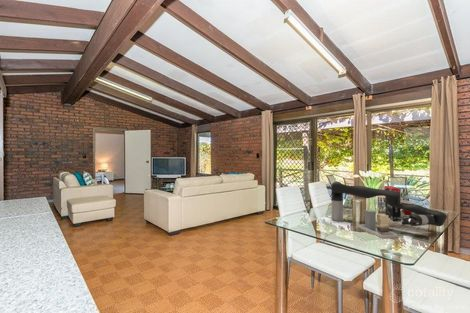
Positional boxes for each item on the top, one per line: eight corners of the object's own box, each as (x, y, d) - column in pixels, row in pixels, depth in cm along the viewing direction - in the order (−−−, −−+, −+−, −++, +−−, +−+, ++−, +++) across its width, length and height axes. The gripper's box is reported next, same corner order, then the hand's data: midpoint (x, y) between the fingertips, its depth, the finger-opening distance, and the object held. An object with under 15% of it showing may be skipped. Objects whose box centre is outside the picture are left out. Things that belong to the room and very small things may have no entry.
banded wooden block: (388, 235, 172) (388, 215, 171) (382, 236, 171) (381, 216, 171) (383, 233, 177) (383, 213, 176) (377, 234, 176) (376, 214, 176)
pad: (381, 241, 165) (381, 239, 165) (365, 242, 164) (365, 240, 164) (365, 233, 181) (365, 232, 181) (351, 234, 179) (351, 232, 179)
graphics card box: (401, 220, 212) (401, 188, 212) (392, 220, 213) (391, 188, 213) (392, 215, 229) (392, 185, 228) (384, 215, 230) (384, 185, 230)
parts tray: (397, 238, 168) (397, 234, 168) (381, 240, 167) (381, 235, 167) (372, 227, 194) (372, 223, 194) (358, 228, 192) (358, 224, 192)
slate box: (375, 230, 185) (375, 211, 184) (369, 230, 184) (369, 211, 184) (371, 228, 190) (371, 209, 189) (365, 228, 189) (364, 210, 189)
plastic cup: (410, 216, 224) (410, 203, 224) (398, 214, 234) (398, 201, 234) (417, 214, 230) (417, 201, 230) (404, 212, 239) (404, 200, 239)
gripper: (409, 212, 184) (389, 213, 182) (427, 217, 170) (405, 218, 168) (410, 222, 184) (390, 224, 182) (427, 228, 170) (405, 230, 168)
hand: (397, 221), depth 175 cm, fingers open, 8 cm apart
